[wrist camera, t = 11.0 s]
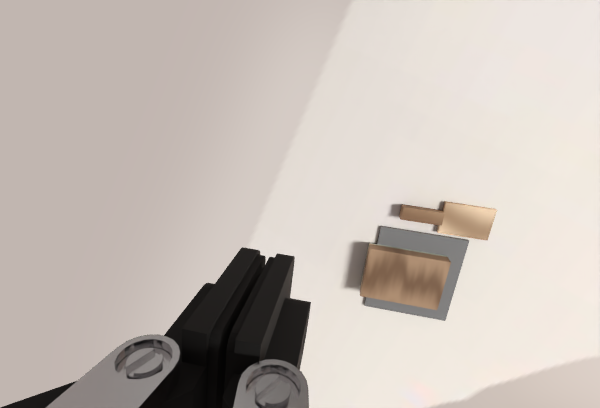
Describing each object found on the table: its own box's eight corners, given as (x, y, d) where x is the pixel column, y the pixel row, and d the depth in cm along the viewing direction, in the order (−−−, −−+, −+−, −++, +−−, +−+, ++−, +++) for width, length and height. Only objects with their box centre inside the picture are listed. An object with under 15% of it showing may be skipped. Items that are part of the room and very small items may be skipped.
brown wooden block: (369, 248, 42) (451, 262, 41) (369, 242, 44) (447, 256, 43) (360, 295, 45) (437, 310, 44) (359, 288, 46) (433, 302, 45)
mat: (380, 225, 44) (381, 226, 43) (468, 240, 42) (469, 240, 42) (364, 304, 47) (364, 305, 47) (444, 319, 46) (445, 320, 46)
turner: (403, 195, 42) (405, 197, 41) (494, 208, 41) (499, 211, 40) (397, 224, 43) (398, 228, 42) (485, 238, 42) (489, 242, 41)
